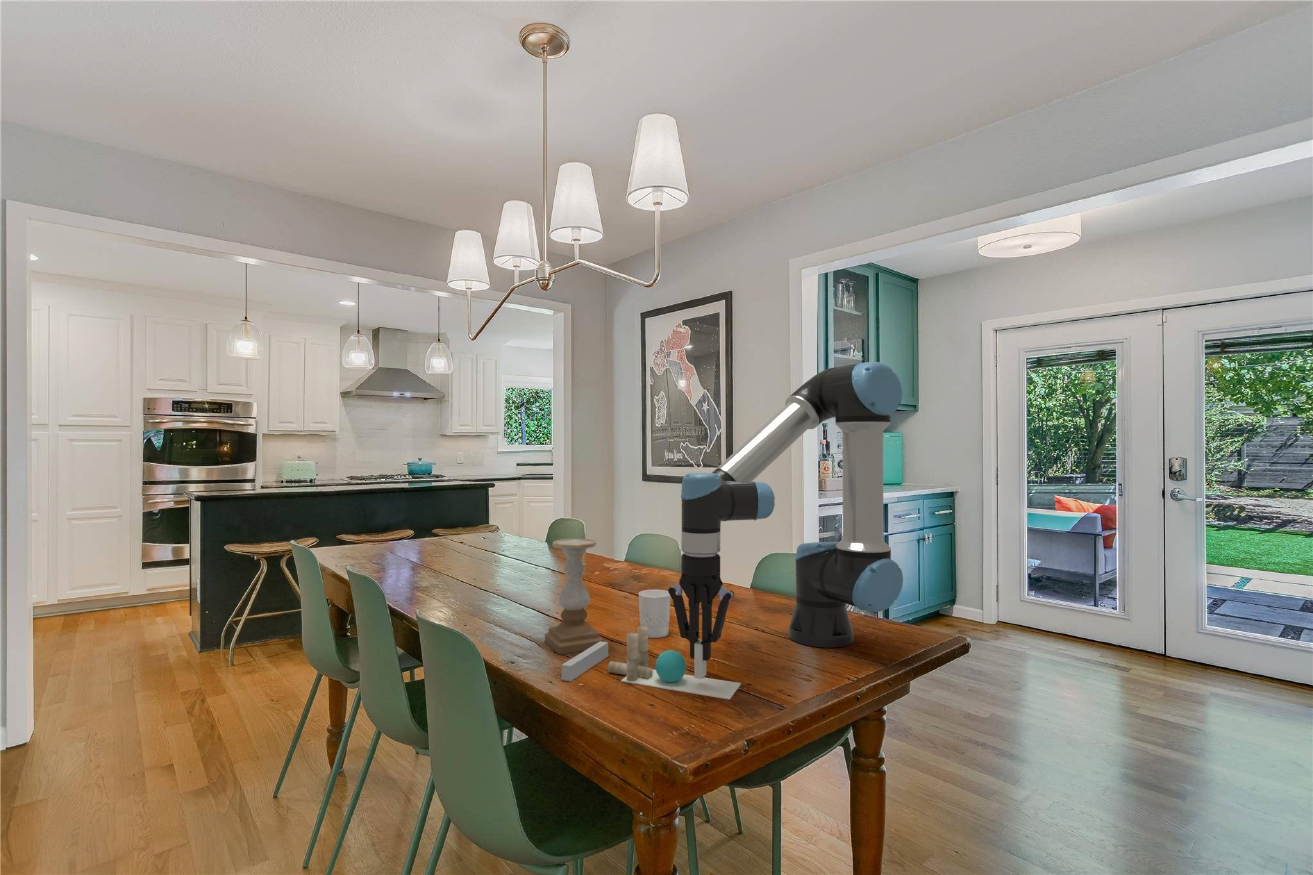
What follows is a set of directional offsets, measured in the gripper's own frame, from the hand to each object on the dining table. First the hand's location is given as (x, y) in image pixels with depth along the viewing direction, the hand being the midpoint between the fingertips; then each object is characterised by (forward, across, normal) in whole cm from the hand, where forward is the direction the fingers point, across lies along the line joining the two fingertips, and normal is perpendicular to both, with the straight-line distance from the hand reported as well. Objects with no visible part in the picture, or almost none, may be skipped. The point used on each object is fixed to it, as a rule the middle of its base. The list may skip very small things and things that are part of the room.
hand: (700, 676), depth 120 cm
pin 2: (+2, +13, -2) cm, 14 cm away
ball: (-1, +6, 0) cm, 6 cm away
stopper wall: (+2, +25, 0) cm, 25 cm away
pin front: (+1, +10, 0) cm, 10 cm away
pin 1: (+2, +13, +2) cm, 14 cm away
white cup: (+2, +21, -27) cm, 34 cm away
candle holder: (+2, +35, -12) cm, 37 cm away
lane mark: (+2, +4, 0) cm, 4 cm away
